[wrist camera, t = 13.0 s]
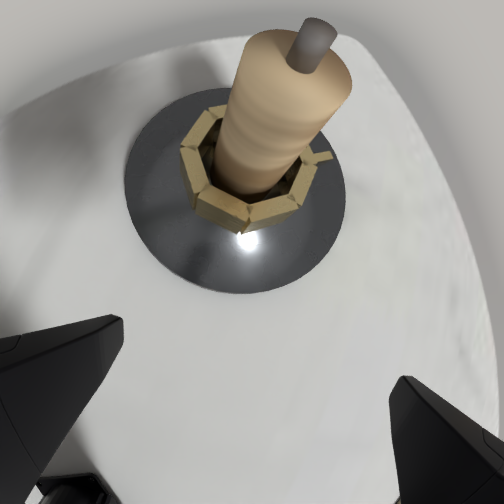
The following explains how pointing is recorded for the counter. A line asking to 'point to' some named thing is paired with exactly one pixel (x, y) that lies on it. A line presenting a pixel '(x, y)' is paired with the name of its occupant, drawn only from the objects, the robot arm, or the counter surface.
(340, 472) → the counter surface
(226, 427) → the counter surface
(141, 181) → the dial plate
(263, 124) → the driver handle
